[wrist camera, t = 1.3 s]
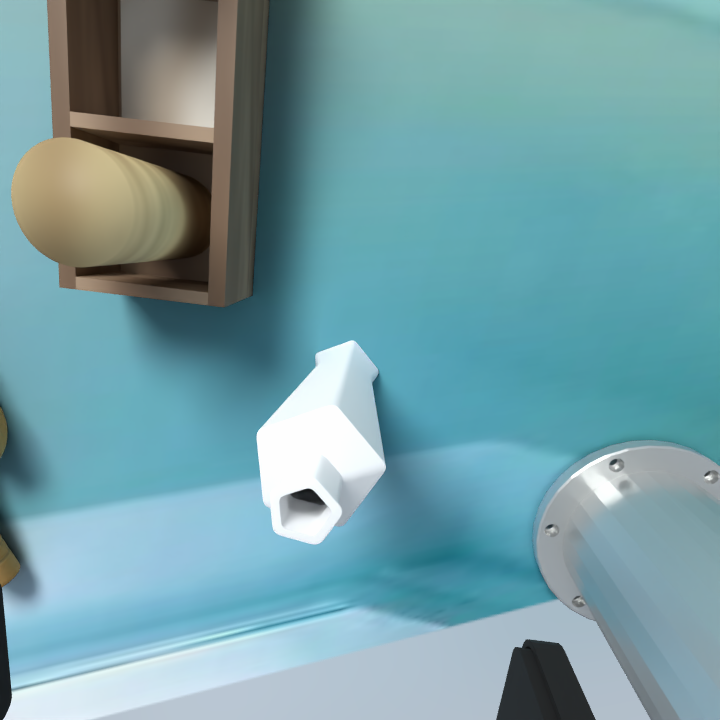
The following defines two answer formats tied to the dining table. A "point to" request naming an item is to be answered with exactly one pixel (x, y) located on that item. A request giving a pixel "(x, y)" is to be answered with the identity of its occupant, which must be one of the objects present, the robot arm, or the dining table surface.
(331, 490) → the white faceted vase
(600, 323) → the dining table surface
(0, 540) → the kendama
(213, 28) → the wooden condiment caddy
